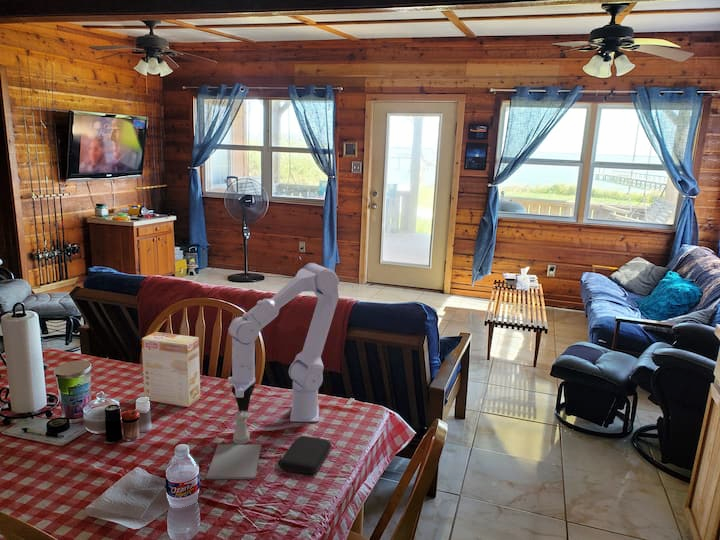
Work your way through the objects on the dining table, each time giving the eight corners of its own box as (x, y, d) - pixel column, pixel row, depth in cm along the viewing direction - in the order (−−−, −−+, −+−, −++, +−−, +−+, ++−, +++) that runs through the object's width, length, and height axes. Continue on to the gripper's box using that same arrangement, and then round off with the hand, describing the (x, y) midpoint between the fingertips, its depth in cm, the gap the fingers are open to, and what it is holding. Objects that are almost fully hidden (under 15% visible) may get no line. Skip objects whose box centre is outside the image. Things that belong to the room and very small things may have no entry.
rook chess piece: (246, 446, 140) (245, 417, 138) (229, 443, 140) (229, 415, 139) (252, 437, 144) (252, 409, 142) (237, 435, 145) (236, 407, 143)
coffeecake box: (201, 397, 165) (199, 336, 161) (188, 407, 159) (186, 344, 154) (157, 390, 169) (155, 330, 165) (143, 400, 162) (140, 338, 158)
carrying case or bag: (294, 442, 143) (272, 472, 129) (294, 431, 143) (272, 461, 129) (333, 448, 141) (314, 480, 127) (333, 437, 140) (315, 468, 126)
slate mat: (217, 446, 139) (217, 444, 139) (261, 446, 140) (261, 444, 139) (206, 479, 125) (206, 476, 125) (254, 479, 126) (254, 476, 126)
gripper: (232, 352, 149) (233, 398, 152) (222, 373, 135) (223, 423, 138) (258, 353, 149) (258, 398, 152) (251, 374, 135) (251, 424, 138)
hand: (243, 410), depth 145 cm, fingers closed
